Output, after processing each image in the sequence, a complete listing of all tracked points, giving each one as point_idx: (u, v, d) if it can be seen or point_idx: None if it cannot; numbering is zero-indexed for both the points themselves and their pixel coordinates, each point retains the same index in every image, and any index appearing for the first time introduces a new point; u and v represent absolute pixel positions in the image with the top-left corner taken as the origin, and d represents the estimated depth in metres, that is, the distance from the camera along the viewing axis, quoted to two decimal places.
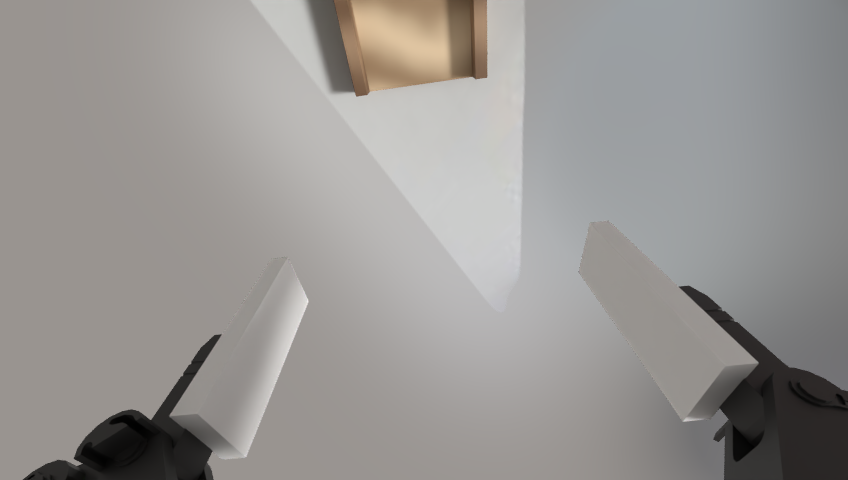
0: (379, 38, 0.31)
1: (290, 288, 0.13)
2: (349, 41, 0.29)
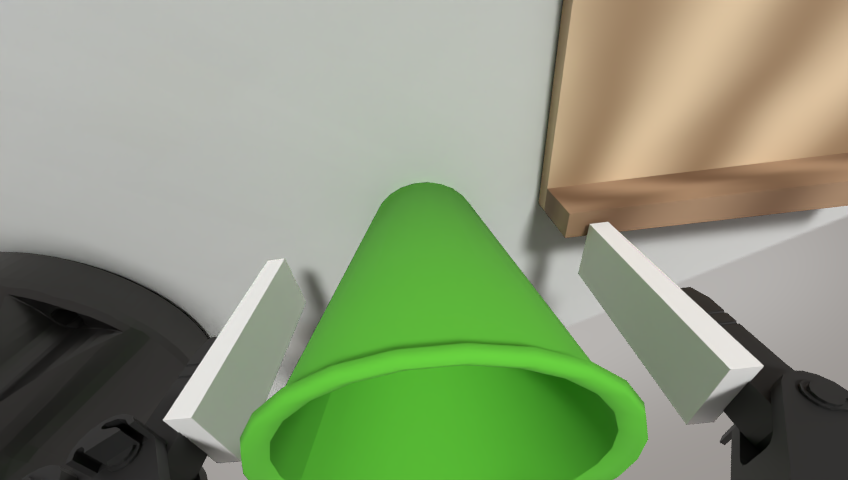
0: (822, 110, 0.13)
1: (287, 290, 0.13)
2: (843, 194, 0.12)
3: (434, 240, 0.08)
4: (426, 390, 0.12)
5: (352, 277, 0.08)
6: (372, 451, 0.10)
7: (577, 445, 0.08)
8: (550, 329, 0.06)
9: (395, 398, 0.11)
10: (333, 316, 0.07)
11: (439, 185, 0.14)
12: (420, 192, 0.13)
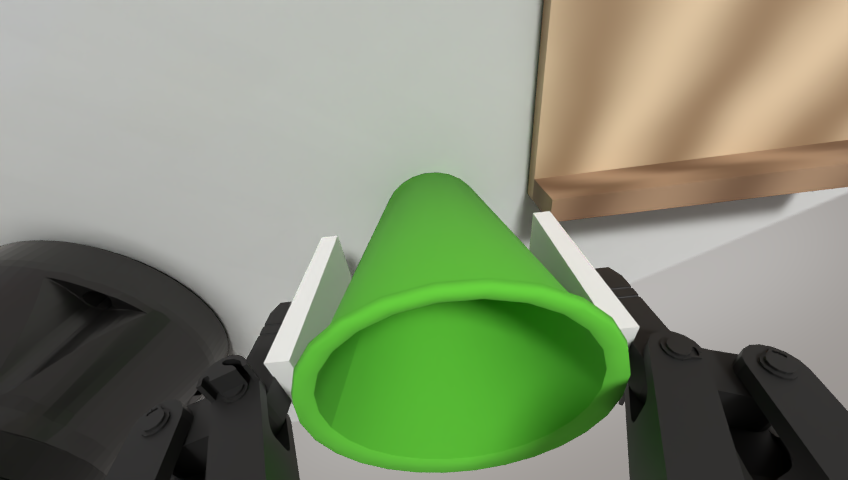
0: (782, 106, 0.14)
1: (340, 264, 0.14)
2: (801, 181, 0.13)
3: (450, 215, 0.10)
4: (436, 359, 0.13)
5: (379, 246, 0.09)
6: (390, 407, 0.11)
7: (572, 393, 0.09)
8: (551, 282, 0.07)
9: (408, 364, 0.13)
10: (367, 274, 0.08)
11: (448, 175, 0.15)
12: (431, 180, 0.14)
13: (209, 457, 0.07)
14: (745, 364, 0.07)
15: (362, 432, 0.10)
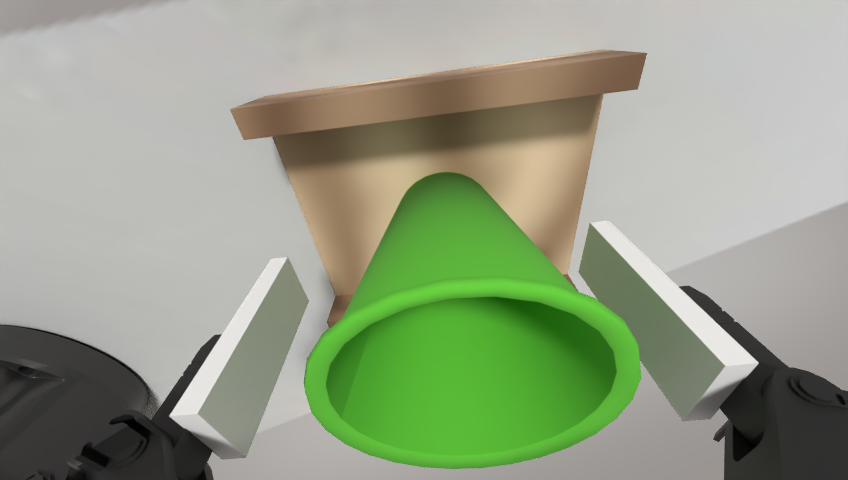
0: None
1: (290, 288, 0.13)
2: None
3: (462, 214, 0.10)
4: (444, 356, 0.13)
5: (391, 243, 0.10)
6: (398, 401, 0.11)
7: (581, 395, 0.09)
8: (562, 282, 0.07)
9: (417, 361, 0.13)
10: (379, 270, 0.08)
11: (460, 175, 0.15)
12: (444, 179, 0.14)
13: None
14: None
15: (370, 425, 0.10)
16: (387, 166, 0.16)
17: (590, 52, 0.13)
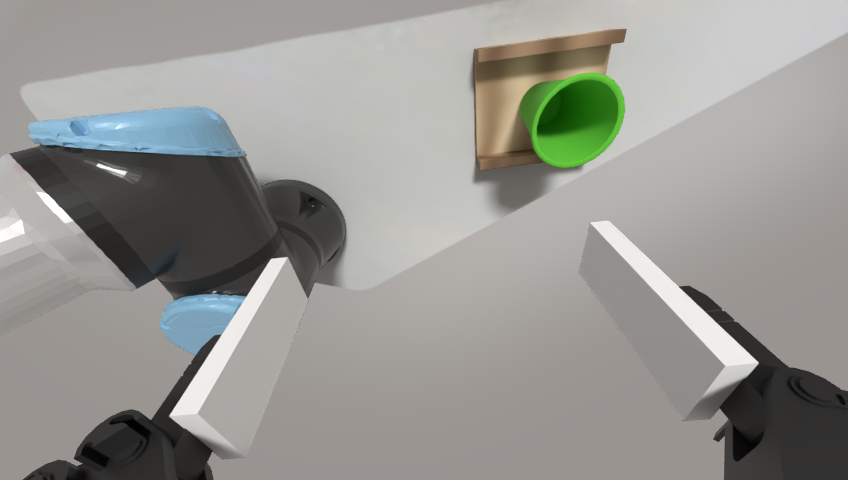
0: None
1: (290, 288, 0.13)
2: None
3: None
4: (551, 147, 0.35)
5: (547, 87, 0.31)
6: (542, 150, 0.32)
7: (607, 132, 0.31)
8: None
9: (543, 146, 0.34)
10: (551, 88, 0.30)
11: None
12: (548, 81, 0.35)
13: None
14: None
15: (539, 147, 0.31)
16: (519, 80, 0.37)
17: (606, 30, 0.35)
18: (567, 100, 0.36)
